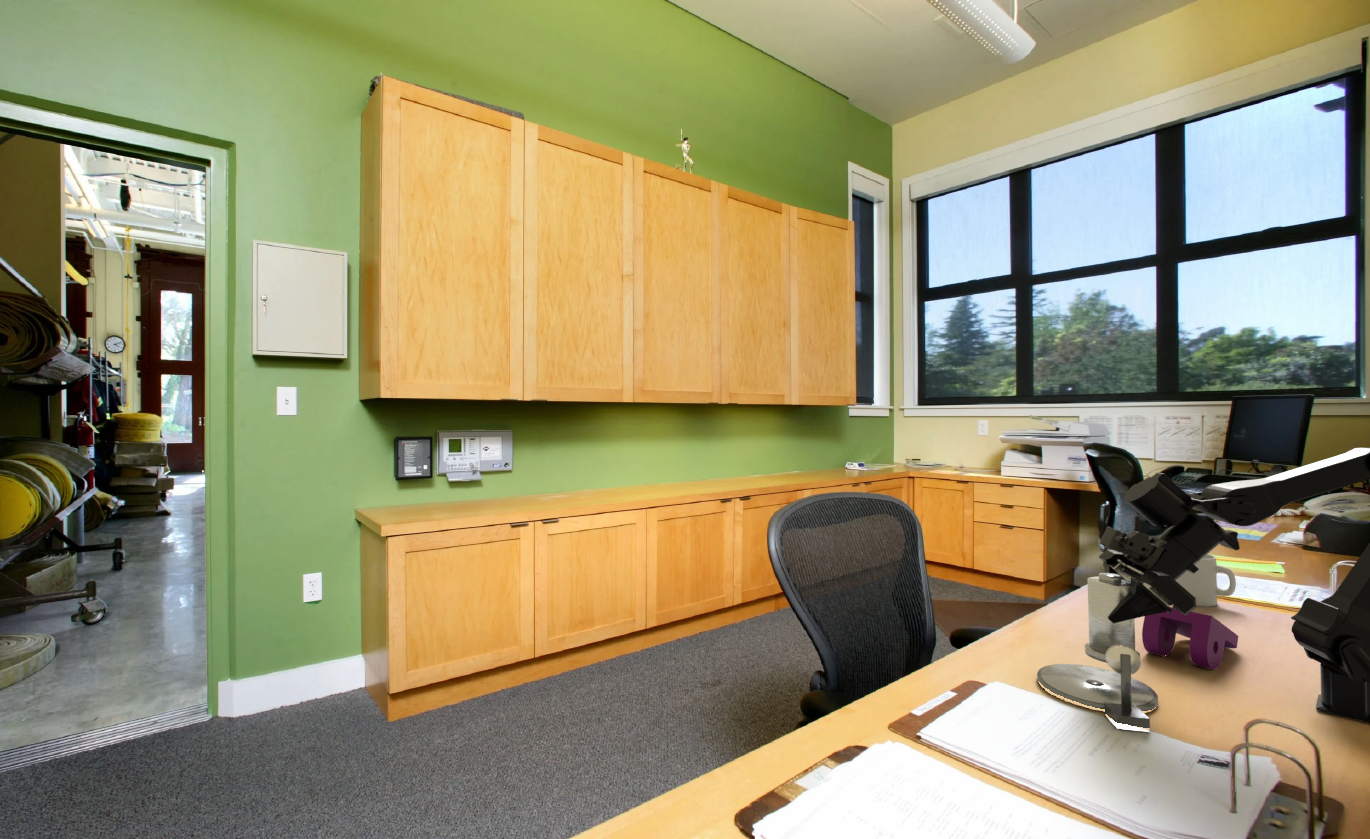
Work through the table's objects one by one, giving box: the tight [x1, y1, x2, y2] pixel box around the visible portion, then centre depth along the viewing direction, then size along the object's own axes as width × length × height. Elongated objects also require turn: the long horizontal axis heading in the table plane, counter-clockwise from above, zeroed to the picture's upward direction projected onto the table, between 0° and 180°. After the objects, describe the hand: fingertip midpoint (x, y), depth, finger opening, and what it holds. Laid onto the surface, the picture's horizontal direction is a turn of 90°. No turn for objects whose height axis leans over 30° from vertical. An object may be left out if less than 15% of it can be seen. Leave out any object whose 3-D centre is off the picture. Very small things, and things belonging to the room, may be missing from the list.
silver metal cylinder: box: [1084, 572, 1141, 663], centre depth 95 cm, size 7×7×13 cm
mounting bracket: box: [1141, 606, 1239, 671], centre depth 110 cm, size 9×8×18 cm
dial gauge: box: [1104, 644, 1151, 729], centre depth 85 cm, size 4×4×11 cm
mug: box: [1176, 553, 1237, 608], centre depth 139 cm, size 12×8×11 cm
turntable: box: [1036, 663, 1159, 711], centre depth 96 cm, size 16×16×1 cm
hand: (1101, 614), depth 95 cm, fingers closed on silver metal cylinder, 6 cm apart
